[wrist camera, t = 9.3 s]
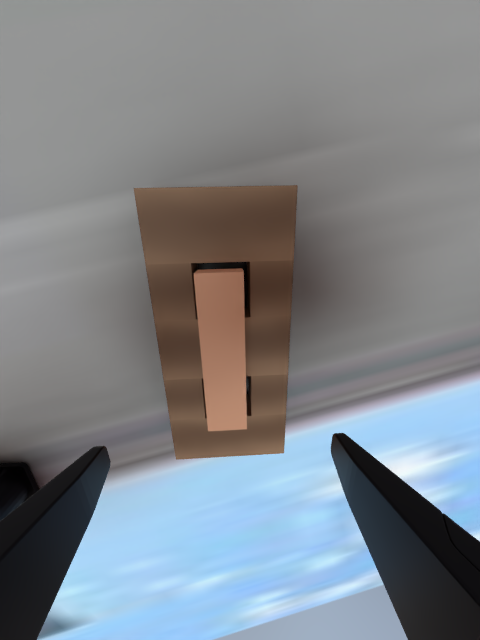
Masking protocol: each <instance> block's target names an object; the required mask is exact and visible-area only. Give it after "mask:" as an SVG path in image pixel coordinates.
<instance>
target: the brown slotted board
mask: <svg viewBox="0 0 480 640" xmlns="http://www.w3.org/2000/svg"><path fill="white" fill-rule="evenodd" d="M134 193H135V200H136V206H137V212H138V219H139V225H140V232H141V238H142V244H143V251H144V257H145V264H146V270H147V276H148V283H149V289H150V295H151V302H152V308H153V315H154V321H155V327H156V334H157V340H158V347H159V353H160V359H161V366H162V372H163V379H164V385H165V391H166V398H167V404H168V411H169V417H170V423H171V430H172V436H173V443H174V449H175V455H176V459H193V458H210V457H227V456H244V455H261V454H278V453H284V440H285V421H286V401H287V381H288V362H289V342H290V322H291V303H292V283H293V263H294V244H295V224H296V204H297V185H293V186H235V187H178V188H134ZM218 262H247V307H244V310H245V358H246V376H248V381H249V394H246V406H247V429H242V430H225V431H208V425H207V414H206V403H205V393H204V382H203V371H202V360H201V349H200V338H199V327H198V317H197V306H196V295H195V284H194V273H195V272H196V271H197V270H198V268H197V263H218Z"/></svg>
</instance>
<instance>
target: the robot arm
mask: <svg viewBox="0 0 480 640" xmlns="http://www.w3.org/2000/svg"><path fill="white" fill-rule="evenodd" d="M331 454H332V458H333V461H334V464H335V467H336V469H337V472H338V475H339V478H340V481H341V484H342V487H343V490H344V493H345V496H346V499H347V501H348V504H349V506H350V508H351V511H352V513H353V515H354V517H355V520H356V522H357V524H358V526H359V529H360V531H361V533H362V536H363V538H364V540H365V542H366V545H367V547H368V549H369V552H370V554H371V556H372V558H373V561H374V563H375V565H376V568H377V570H378V572H379V574H380V577H381V579H382V581H383V583H384V586H385V588H386V590H387V593H388V595H389V597H390V599H391V602H392V604H393V606H394V609H395V611H396V613H397V615H398V618H399V620H400V622H401V625H402V627H403V629H404V631H405V634H406V636H407V638H408V640H480V542H479V541H478V540H477V539H476V538H474V537H473V536H472V535H471V534H469V533H468V532H467V531H465V530H464V529H463V528H462V527H460V526H459V525H458V524H456V523H455V522H454V521H453V520H452V519H450V518H449V517H448V516H447V515H445V514H442V512H441V511H440V510H439V509H438V508H436V507H435V506H434V505H433V504H431V503H430V502H429V501H428V500H427V499H425V498H424V497H423V496H422V495H420V494H419V493H418V492H417V491H415V490H414V489H413V488H412V487H410V486H409V485H408V484H407V483H405V482H404V481H403V480H402V479H400V478H399V477H398V476H397V475H395V474H394V473H393V472H392V471H390V470H389V469H388V468H387V467H385V466H384V465H383V464H382V463H381V462H379V461H378V460H377V459H376V458H374V457H373V456H372V455H371V454H369V453H368V452H367V451H366V450H364V449H363V448H362V447H361V446H359V445H358V444H357V443H356V442H354V441H353V440H352V439H351V438H349V437H348V436H347V435H346V434H344V433H335V434H333V437H332V444H331ZM109 468H110V458H109V455H108V451H107V448H106V447H105V446H95V447H93V448H91V449H90V450H89V451H88V452H86V453H85V454H84V455H83V456H81V457H80V458H79V459H78V460H76V461H75V462H74V463H73V464H71V465H70V466H69V467H67V468H66V469H65V470H64V471H62V472H61V473H60V474H59V475H57V476H56V477H55V478H54V479H52V480H51V481H50V482H49V483H47V484H46V485H45V486H44V487H42V488H41V489H40V490H38V488H37V485H36V483H35V481H34V479H33V476H32V474H31V472H30V470H29V468H28V466H27V464H25V463H9V464H0V640H37V637H38V635H39V633H40V631H41V629H42V626H43V624H44V622H45V620H46V618H47V615H48V613H49V611H50V609H51V607H52V604H53V602H54V600H55V598H56V595H57V593H58V591H59V589H60V587H61V584H62V582H63V580H64V578H65V576H66V573H67V571H68V569H69V567H70V564H71V562H72V560H73V558H74V556H75V553H76V551H77V549H78V547H79V545H80V542H81V540H82V538H83V536H84V533H85V531H86V529H87V527H88V525H89V522H90V520H91V518H92V515H93V513H94V510H95V508H96V505H97V502H98V499H99V497H100V494H101V491H102V488H103V485H104V482H105V480H106V477H107V474H108V471H109Z"/></svg>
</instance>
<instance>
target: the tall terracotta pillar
mask: <svg viewBox="0 0 480 640" xmlns="http://www.w3.org/2000/svg"><path fill="white" fill-rule="evenodd" d="M194 284H195V295H196V306H197V317H198V327H199V338H200V349H201V360H202V371H203V382H204V393H205V403H206V414H207V425H208V431H225V430H242V429H247V406H246V358H245V310H244V271H243V269H242V268H238V269H236V268H232V269H206V270H197V271H196V272H195V273H194Z"/></svg>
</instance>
